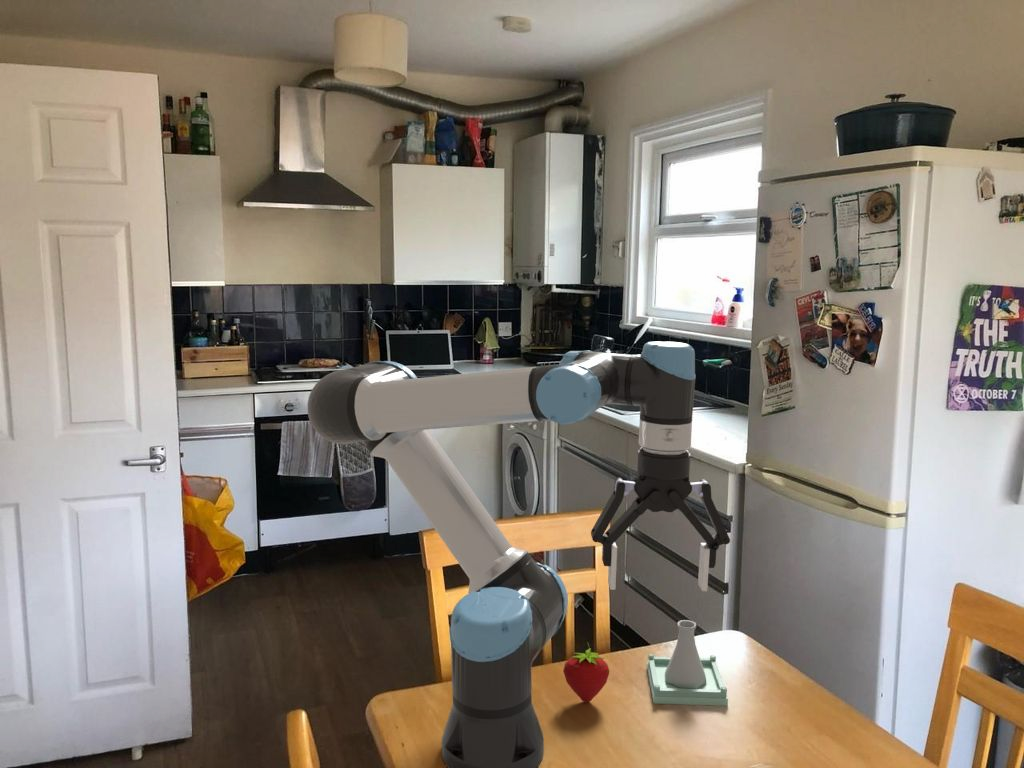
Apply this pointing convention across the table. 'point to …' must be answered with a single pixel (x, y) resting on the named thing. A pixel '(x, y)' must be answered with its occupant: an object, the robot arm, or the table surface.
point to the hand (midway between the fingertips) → (657, 587)
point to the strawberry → (586, 674)
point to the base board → (671, 694)
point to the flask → (685, 660)
